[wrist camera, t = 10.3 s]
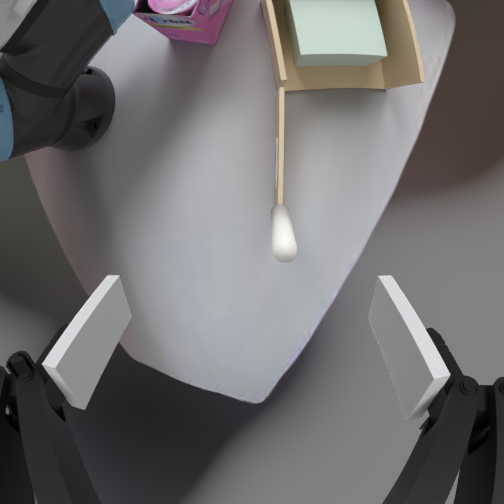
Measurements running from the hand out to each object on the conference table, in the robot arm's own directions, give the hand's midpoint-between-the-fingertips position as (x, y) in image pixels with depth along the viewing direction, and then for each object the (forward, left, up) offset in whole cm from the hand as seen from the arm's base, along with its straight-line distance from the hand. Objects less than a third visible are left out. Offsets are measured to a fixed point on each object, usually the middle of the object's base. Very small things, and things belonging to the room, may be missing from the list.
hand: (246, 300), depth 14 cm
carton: (+13, +20, -31) cm, 39 cm away
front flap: (+3, +3, -31) cm, 31 cm away
